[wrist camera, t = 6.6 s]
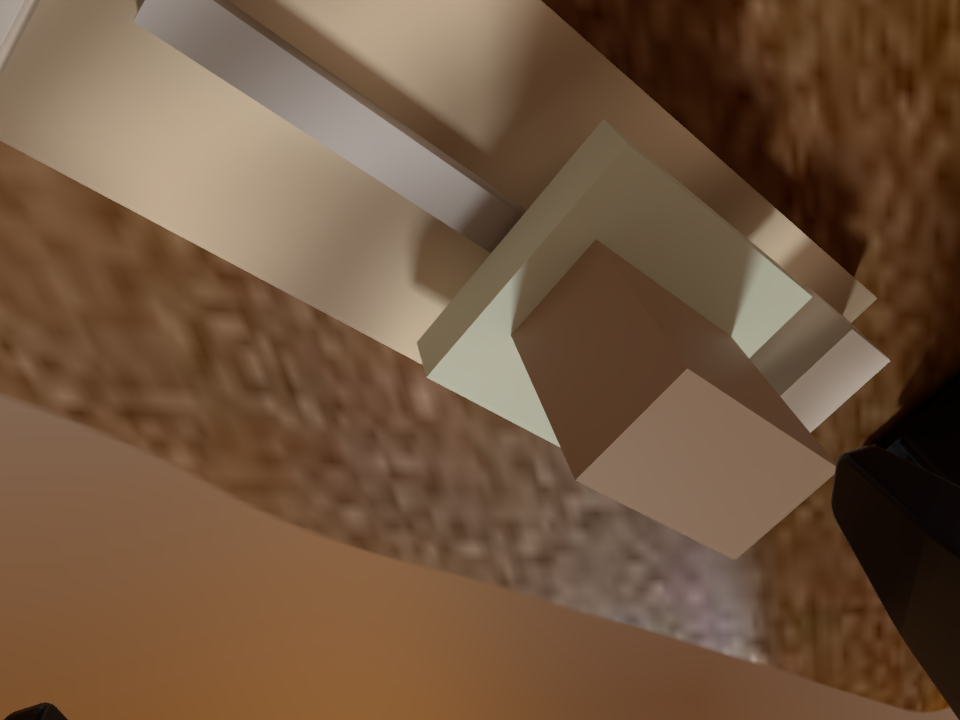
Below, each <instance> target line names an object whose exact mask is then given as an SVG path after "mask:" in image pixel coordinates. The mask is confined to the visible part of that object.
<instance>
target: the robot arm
mask: <svg viewBox="0 0 960 720" xmlns="http://www.w3.org/2000/svg"><path fill="white" fill-rule="evenodd" d="M831 504H832V510H833V514H834V516H835V519H836V521H837V523H838V525H839V527H840V528H841V530H842V532H843V534H844V536H845V537H846V539H847V541H848V543H849V545H850V546H851V548H852V550H853V552H854V554H855V555H856V557H857V559H858V561H859V563H860V564H861V566H862V568H863V570H864V572H865V574H866V575H867V577H868V579H869V581H870V583H871V584H872V586H873V588H874V590H875V592H876V593H877V595H878V597H879V599H880V601H881V602H882V604H883V606H884V608H885V610H886V611H887V613H888V615H889V617H890V619H891V620H892V622H893V624H894V625H895V627H896V629H897V630H898V632H899V634H900V635H901V637H902V639H903V640H904V642H905V643H906V645H907V646H908V648H909V649H910V651H911V652H912V654H913V655H914V656H915V658H916V659H917V661H918V662H919V664H920V665H921V666H922V668H923V669H924V671H925V672H926V673H927V675H928V676H929V678H930V679H931V681H932V682H933V683H934V685H935V686H936V688H937V689H938V691H939V692H940V693H941V695H942V696H943V698H944V699H945V701H946V702H947V703H948V705H949V706H950V708H951V709H952V711H953V712H954V713H955V715H956V716H957V718H958V719H959V720H960V373H959V374H958V375H957V376H956V377H955V378H954V379H952V380H951V381H950V382H949V383H948V384H947V385H945V386H944V387H943V388H942V389H941V390H940V391H938V392H937V393H936V394H935V395H934V396H933V397H931V398H930V399H929V400H928V401H927V402H926V403H925V404H923V405H922V406H921V407H920V408H919V409H918V410H916V411H915V412H914V413H913V414H912V415H911V416H909V417H908V418H907V419H906V420H905V421H904V422H902V423H901V424H900V425H899V426H898V427H897V428H895V429H894V430H893V431H892V432H891V433H890V434H889V435H887V436H886V437H885V438H884V439H883V440H882V441H880V442H879V443H878V444H877V445H876V446H873V445H870V446H864V447H861V448H858V449H855V450H852V451H848V452H845V453H843V454H841V455H840V456H839V458H838V459H837V462H836V469H835V476H834V483H833V490H832V498H831ZM4 720H68V719H67V718H66V717H65V716H64V715H63V714H62V713H61V712H60V711H59V710H58V709H57V707H55V706H54V705H53V704H49V703H40V704H37V705H34V706H31V707H28V708H24V709H21V710H18V711H15V712H13V713H11V714H10V715H8V716H7V717H6V718H5V719H4Z"/></svg>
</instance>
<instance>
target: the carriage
mask: <svg viewBox="0 0 960 720" xmlns="http://www.w3.org/2000/svg"><path fill="white" fill-rule="evenodd" d="M811 298H812V296H811V295H810V294H809V293H808V292H807V291H806V290H805V289H804V288H803V287H802V286H801V285H800V284H799V283H798V282H797V281H796V280H795V279H794V278H793V277H792V276H791V275H790V274H789V273H788V272H787V271H786V270H785V269H783V268H782V267H781V266H780V265H779V264H778V263H776V262H775V261H774V260H773V259H772V258H770V257H769V256H768V255H767V254H766V253H764V252H763V251H762V250H761V249H759V248H758V247H757V246H756V245H755V244H753V243H752V242H751V241H750V240H749V239H747V238H746V237H745V236H744V235H743V234H741V233H740V232H739V231H738V230H737V229H735V228H734V227H733V226H732V225H731V224H729V223H728V222H727V221H726V220H725V219H723V218H722V217H721V216H720V215H719V214H717V213H716V212H715V211H714V210H713V209H711V208H710V207H709V206H708V205H707V204H705V203H704V202H703V201H702V200H701V199H699V198H698V197H697V196H696V195H695V194H693V193H692V192H691V191H690V190H688V189H687V188H686V187H685V186H684V185H682V184H681V183H680V182H679V181H678V180H676V179H675V178H674V177H673V176H672V175H670V174H669V173H668V172H667V171H666V170H664V169H663V168H662V167H661V166H660V165H658V164H657V163H656V162H655V161H654V160H652V159H651V158H650V157H649V156H648V155H646V154H645V153H644V152H643V151H642V150H640V149H639V148H638V147H637V146H636V145H634V144H633V143H632V142H631V141H630V140H628V139H627V138H626V137H625V136H624V135H622V134H621V133H620V132H619V131H617V130H616V129H615V128H614V127H613V126H611V125H610V124H609V123H608V122H607V121H605V120H604V119H603V120H602V121H601V123H600V124H599V125H598V126H597V127H596V129H595V130H594V131H593V132H592V133H591V135H590V136H589V137H588V138H587V139H586V140H585V142H584V143H583V144H582V145H581V146H580V148H579V149H578V150H577V151H576V152H575V154H574V155H573V156H572V157H571V158H570V160H569V161H568V162H567V163H566V164H565V166H564V167H563V168H562V169H561V170H560V172H559V173H558V174H557V175H556V176H555V178H554V179H553V180H552V181H551V182H550V184H549V185H548V186H547V187H546V188H545V190H544V191H543V192H542V193H541V194H540V195H539V197H538V198H537V199H536V200H535V201H534V203H533V204H532V205H531V206H530V207H529V209H528V210H527V211H526V212H525V213H524V215H523V216H522V217H521V218H520V219H519V221H518V222H517V223H516V224H515V225H514V227H513V228H512V229H511V230H510V231H509V233H508V234H507V235H506V236H505V237H504V239H503V240H502V241H501V242H500V243H499V244H498V246H497V247H496V248H495V249H494V250H493V252H492V253H491V254H490V255H489V256H488V258H487V259H486V260H485V261H484V262H483V264H482V265H481V266H480V267H479V268H478V270H477V271H476V272H475V273H474V274H473V276H472V277H471V278H470V279H469V280H468V282H467V283H466V284H465V285H464V286H463V288H462V289H461V290H460V291H459V292H458V294H457V295H456V296H455V297H454V298H453V299H452V301H451V302H450V303H449V304H448V305H447V307H446V308H445V309H444V310H443V311H442V313H441V314H440V315H439V316H438V317H437V319H436V320H435V321H434V322H433V323H432V325H431V326H430V327H429V328H428V329H427V331H426V332H425V333H424V334H423V335H422V337H421V338H420V339H419V340H418V341H417V346H418V349H419V353H420V356H421V360H422V363H423V367H424V371H425V374H426V377H427V378H429V379H431V380H432V381H434V382H436V383H438V384H440V385H442V386H444V387H446V388H448V389H450V390H452V391H454V392H455V393H457V394H459V395H461V396H463V397H465V398H467V399H469V400H471V401H473V402H475V403H476V404H478V405H480V406H482V407H484V408H486V409H488V410H490V411H492V412H494V413H496V414H497V415H499V416H501V417H503V418H505V419H507V420H509V421H511V422H513V423H515V424H517V425H519V426H520V427H522V428H524V429H526V430H528V431H530V432H532V433H534V434H536V435H538V436H540V437H541V438H543V439H545V440H547V441H549V442H551V443H553V444H555V445H557V446H559V447H561V449H562V452H563V454H564V456H565V458H566V461H567V463H568V465H569V467H570V469H571V472H572V474H573V476H574V478H575V480H576V481H578V482H580V483H582V484H584V485H586V486H588V487H590V488H592V489H594V490H596V491H598V492H600V493H602V494H604V495H606V496H608V497H610V498H612V499H614V500H616V501H618V502H620V503H622V504H624V505H626V506H628V507H630V508H632V509H634V510H636V511H638V512H640V513H642V514H644V515H646V516H648V517H650V518H652V519H654V520H656V521H658V522H659V523H661V524H663V525H665V526H667V527H669V528H671V529H673V530H675V531H677V532H679V533H681V534H683V535H685V536H687V537H689V538H691V539H693V540H695V541H697V542H699V543H701V544H703V545H705V546H707V547H709V548H711V549H713V550H715V551H717V552H719V553H721V554H723V555H725V556H727V557H729V558H731V559H733V560H736V559H737V558H738V557H739V556H740V555H742V554H743V553H744V552H745V551H746V550H747V549H748V548H750V547H751V546H752V545H753V544H754V543H755V542H757V541H758V540H759V539H760V538H761V537H762V536H763V535H765V534H766V533H767V532H768V531H769V530H770V529H772V528H773V527H774V526H775V525H776V524H777V523H779V522H780V521H781V520H782V519H783V518H784V517H785V516H787V515H788V514H789V513H790V512H791V511H792V510H794V509H795V508H796V507H797V506H798V505H799V504H800V503H802V502H803V501H804V500H805V499H806V498H807V497H809V496H810V495H811V494H812V493H813V492H814V491H816V490H817V489H818V488H819V487H820V486H821V485H822V484H824V483H825V482H826V481H827V480H828V479H829V478H831V477H832V476H833V475H834V474H835V469H836V464H835V462H834V461H833V460H832V459H831V458H830V456H829V455H828V454H827V453H826V451H825V450H824V449H823V448H822V447H821V445H820V444H819V443H818V442H817V441H816V439H815V438H814V437H813V436H812V434H811V433H810V432H809V431H808V430H807V428H806V427H805V426H804V425H803V423H802V422H801V421H800V420H799V419H798V417H797V416H796V415H795V414H794V413H793V411H792V410H791V409H790V408H789V406H788V405H787V404H786V403H785V402H784V400H783V399H782V398H781V397H780V395H779V394H778V393H777V392H776V391H775V389H774V388H773V387H772V386H771V384H770V383H769V382H768V381H767V380H766V378H765V377H764V376H763V375H762V374H761V372H760V371H759V370H758V369H757V367H756V366H755V365H754V364H753V363H752V361H751V360H750V359H749V358H750V357H751V356H752V355H753V354H754V353H755V352H756V351H757V350H758V349H759V348H761V347H762V346H763V345H764V344H765V343H766V342H767V341H768V340H769V339H770V338H771V337H772V336H773V335H774V334H775V333H776V332H777V331H778V330H779V329H780V328H781V327H782V326H783V325H784V324H785V323H786V322H787V321H788V320H789V319H790V318H791V317H793V316H794V315H795V314H796V313H797V312H798V311H799V310H800V309H801V308H802V307H803V306H804V305H805V304H806V303H807V302H808V301H809V300H810V299H811Z"/></svg>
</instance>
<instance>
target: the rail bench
mask: <svg viewBox="0 0 960 720" xmlns="http://www.w3.org/2000/svg"><path fill="white" fill-rule="evenodd" d="M603 119H604V120H605V121H607V122H608V123H609V124H610V125H611V126H613V127H614V128H615V129H616V130H617V131H619V132H620V133H621V134H622V135H624V136H625V137H626V138H627V139H628V140H630V141H631V142H632V143H633V144H634V145H636V146H637V147H638V148H639V149H640V150H642V151H643V152H644V153H645V154H646V155H648V156H649V157H650V158H651V159H652V160H654V161H655V162H656V163H657V164H658V165H660V166H661V167H662V168H663V169H664V170H666V171H667V172H668V173H669V174H670V175H672V176H673V177H674V178H675V179H676V180H678V181H679V182H680V183H681V184H682V185H684V186H685V187H686V188H687V189H688V190H690V191H691V192H692V193H693V194H695V195H696V196H697V197H698V198H699V199H701V200H702V201H703V202H704V203H705V204H707V205H708V206H709V207H710V208H711V209H713V210H714V211H715V212H716V213H717V214H719V215H720V216H721V217H722V218H723V219H725V220H726V221H727V222H728V223H729V224H731V225H732V226H733V227H734V228H735V229H737V230H738V231H739V232H740V233H741V234H743V235H744V236H745V237H746V238H747V239H749V240H750V241H751V242H752V243H753V244H755V245H756V246H757V247H758V248H759V249H761V250H762V251H763V252H764V253H766V254H767V255H768V256H769V257H770V258H772V259H773V260H774V261H775V262H776V263H778V264H779V265H780V266H781V267H782V268H783V269H785V270H786V271H787V272H788V273H789V274H790V275H791V276H792V277H793V278H794V279H795V280H796V281H797V282H798V283H799V284H800V285H801V286H802V287H803V288H804V289H805V290H806V291H807V292H808V293H809V294H810V295H811V296H812V298H811V299H810V300H809V301H808V302H807V303H806V304H805V305H804V306H803V307H802V308H801V309H800V310H799V311H798V312H797V313H796V314H795V315H794V316H793V317H791V318H790V319H789V320H788V321H787V322H786V323H785V324H784V325H783V326H782V327H781V328H780V329H779V330H778V331H777V332H776V333H775V334H774V335H773V336H772V337H771V338H770V339H769V340H768V341H767V342H766V343H765V344H764V345H763V346H762V347H761V348H759V349H758V350H757V351H756V352H755V353H754V354H753V355H752V356H751V357H750V358H749V359H750V360H751V361H752V363H753V364H754V365H755V366H756V367H757V369H758V370H759V371H760V372H761V374H762V375H763V376H764V377H765V378H766V380H767V381H768V382H769V383H770V384H771V386H772V387H773V388H774V389H775V391H776V392H777V393H778V394H779V395H780V397H781V398H782V399H783V400H784V402H785V403H786V404H787V405H788V406H789V408H790V409H791V410H792V411H793V413H794V414H795V415H796V416H797V417H798V419H799V420H800V421H801V422H802V423H803V425H804V426H805V427H806V428H807V430H808V431H809V432H810V433H811V432H812V431H813V430H814V429H815V428H816V427H817V426H819V425H820V424H821V423H822V422H823V421H824V420H825V419H826V418H827V417H829V416H830V415H831V414H832V413H833V412H834V411H835V410H836V409H837V408H839V407H840V406H841V405H842V404H843V403H844V402H845V401H846V400H847V399H849V398H850V397H851V396H852V395H853V394H854V393H855V392H856V391H857V390H859V389H860V388H861V387H862V386H863V385H864V384H865V383H866V382H868V381H869V380H870V379H871V378H872V377H873V376H874V375H875V374H876V373H878V372H879V371H880V370H881V369H882V368H883V367H884V366H885V365H886V364H888V363H889V362H890V360H889V359H888V358H887V357H886V356H885V355H884V354H883V353H882V352H881V351H880V350H879V349H878V348H877V347H876V346H875V345H874V344H873V343H871V342H870V341H869V340H868V339H867V338H866V337H865V336H864V335H863V334H862V333H861V332H860V331H859V330H858V329H857V328H856V327H855V326H854V325H853V324H852V322H853V321H854V320H855V319H856V318H857V317H858V316H859V315H860V314H861V313H862V312H863V311H864V310H865V309H867V308H868V307H869V306H870V305H871V304H872V303H873V302H874V301H875V300H876V299H877V298H876V297H875V296H874V295H873V294H872V293H871V292H870V291H868V290H867V289H866V288H865V287H864V286H863V285H862V284H861V283H859V282H858V281H857V280H856V279H855V278H854V277H853V276H852V275H850V274H849V273H848V272H847V271H846V270H845V269H844V268H843V267H841V266H840V265H839V264H838V263H837V262H836V261H835V260H834V259H832V258H831V257H830V256H829V255H828V254H827V253H826V252H825V251H823V250H822V249H821V248H820V247H819V246H818V245H817V244H815V243H814V242H813V241H812V240H811V239H810V238H809V237H808V236H806V235H805V234H804V233H803V232H802V231H801V230H800V229H799V228H797V227H796V226H795V225H794V224H793V223H792V222H791V221H790V220H788V219H787V218H786V217H785V216H784V215H783V214H782V213H781V212H779V211H778V210H777V209H776V208H775V207H774V206H773V205H771V204H770V203H769V202H768V201H767V200H766V199H765V198H764V197H762V196H761V195H760V194H759V193H758V192H757V191H756V190H755V189H753V188H752V187H751V186H750V185H749V184H748V183H747V182H746V181H744V180H743V179H742V178H741V177H740V176H739V175H738V174H737V173H735V172H734V171H733V170H732V169H731V168H730V167H729V166H727V165H726V164H725V163H724V162H723V161H722V160H721V159H720V158H718V157H717V156H716V155H715V154H714V153H713V152H712V151H711V150H709V149H708V148H707V147H706V146H705V145H704V144H703V143H702V142H700V141H699V140H698V139H697V138H696V137H695V136H694V135H693V134H691V133H690V132H689V131H688V130H687V129H686V128H685V127H683V126H682V125H681V124H680V123H679V122H678V121H677V120H676V119H674V118H673V117H672V116H671V115H670V114H669V113H668V112H667V111H665V110H664V109H663V108H662V107H661V106H660V105H659V104H658V103H656V102H655V101H654V100H653V99H652V98H651V97H650V96H649V95H647V94H646V93H645V92H644V91H643V90H642V89H641V88H640V87H638V86H637V85H636V84H635V83H634V82H633V81H632V80H630V79H629V78H628V77H627V76H626V75H625V74H624V73H623V72H621V71H620V70H619V69H618V68H617V67H616V66H615V65H614V64H612V63H611V62H610V61H609V60H608V59H607V58H606V57H605V56H603V55H602V54H601V53H600V52H599V51H598V50H597V49H596V48H594V47H593V46H592V45H591V44H590V43H589V42H588V41H586V40H585V39H584V38H583V37H582V36H581V35H580V34H579V33H577V32H576V31H575V30H574V29H573V28H572V27H571V26H570V25H568V24H567V23H566V22H565V21H564V20H563V19H562V18H561V17H559V16H558V15H557V14H556V13H555V12H554V11H553V10H552V9H550V8H549V7H548V6H547V5H546V4H545V3H544V2H542V1H541V0H0V141H2V142H4V143H6V144H8V145H10V146H11V147H13V148H15V149H17V150H19V151H21V152H23V153H25V154H27V155H28V156H30V157H32V158H34V159H36V160H38V161H40V162H42V163H43V164H45V165H47V166H49V167H51V168H53V169H55V170H57V171H59V172H60V173H62V174H64V175H66V176H68V177H70V178H72V179H74V180H76V181H77V182H79V183H81V184H83V185H85V186H87V187H89V188H91V189H92V190H94V191H96V192H98V193H100V194H102V195H104V196H106V197H108V198H109V199H111V200H113V201H115V202H117V203H119V204H121V205H123V206H124V207H126V208H128V209H130V210H132V211H134V212H136V213H138V214H140V215H141V216H143V217H145V218H147V219H149V220H151V221H153V222H155V223H156V224H158V225H160V226H162V227H164V228H166V229H168V230H170V231H172V232H173V233H175V234H177V235H179V236H181V237H183V238H185V239H187V240H188V241H190V242H192V243H194V244H196V245H198V246H200V247H202V248H204V249H205V250H207V251H209V252H211V253H213V254H215V255H217V256H219V257H220V258H222V259H224V260H226V261H228V262H230V263H232V264H234V265H236V266H237V267H239V268H241V269H243V270H245V271H247V272H249V273H251V274H252V275H254V276H256V277H258V278H260V279H262V280H264V281H266V282H268V283H269V284H271V285H273V286H275V287H277V288H279V289H281V290H283V291H285V292H286V293H288V294H290V295H292V296H294V297H296V298H298V299H300V300H301V301H303V302H305V303H307V304H309V305H311V306H313V307H315V308H317V309H318V310H320V311H322V312H324V313H326V314H328V315H330V316H332V317H333V318H335V319H337V320H339V321H341V322H343V323H345V324H347V325H349V326H350V327H352V328H354V329H356V330H358V331H360V332H362V333H364V334H365V335H367V336H369V337H371V338H373V339H375V340H377V341H379V342H381V343H382V344H384V345H386V346H388V347H390V348H392V349H394V350H396V351H397V352H399V353H401V354H403V355H405V356H407V357H409V358H411V359H413V360H414V361H416V362H418V363H420V364H422V365H423V363H422V360H421V356H420V353H419V349H418V346H417V341H418V340H419V339H420V338H421V337H422V335H423V334H424V333H425V332H426V331H427V329H428V328H429V327H430V326H431V325H432V323H433V322H434V321H435V320H436V319H437V317H438V316H439V315H440V314H441V313H442V311H443V310H444V309H445V308H446V307H447V305H448V304H449V303H450V302H451V301H452V299H453V298H454V297H455V296H456V295H457V294H458V292H459V291H460V290H461V289H462V288H463V286H464V285H465V284H466V283H467V282H468V280H469V279H470V278H471V277H472V276H473V274H474V273H475V272H476V271H477V270H478V268H479V267H480V266H481V265H482V264H483V262H484V261H485V260H486V259H487V258H488V256H489V255H490V254H491V253H492V252H493V250H494V249H495V248H496V247H497V246H498V244H499V243H500V242H501V241H502V240H503V239H504V237H505V236H506V235H507V234H508V233H509V231H510V230H511V229H512V228H513V227H514V225H515V224H516V223H517V222H518V221H519V219H520V218H521V217H522V216H523V215H524V213H525V212H526V211H527V210H528V209H529V207H530V206H531V205H532V204H533V203H534V201H535V200H536V199H537V198H538V197H539V195H540V194H541V193H542V192H543V191H544V190H545V188H546V187H547V186H548V185H549V184H550V182H551V181H552V180H553V179H554V178H555V176H556V175H557V174H558V173H559V172H560V170H561V169H562V168H563V167H564V166H565V164H566V163H567V162H568V161H569V160H570V158H571V157H572V156H573V155H574V154H575V152H576V151H577V150H578V149H579V148H580V146H581V145H582V144H583V143H584V142H585V140H586V139H587V138H588V137H589V136H590V135H591V133H592V132H593V131H594V130H595V129H596V127H597V126H598V125H599V124H600V123H601V121H602V120H603Z"/></svg>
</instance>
